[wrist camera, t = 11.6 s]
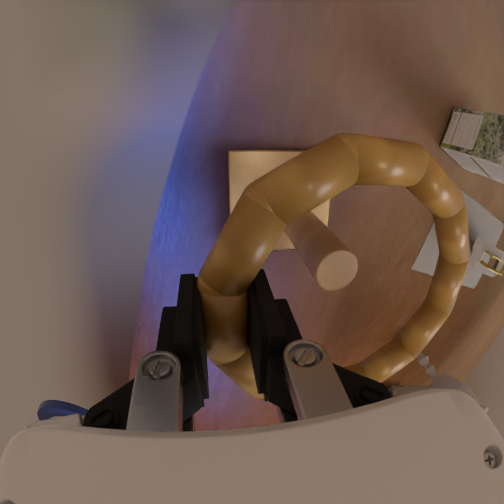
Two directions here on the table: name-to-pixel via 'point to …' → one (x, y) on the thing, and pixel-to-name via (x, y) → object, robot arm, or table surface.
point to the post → (296, 221)
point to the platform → (481, 245)
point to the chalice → (446, 380)
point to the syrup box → (476, 142)
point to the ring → (301, 202)
